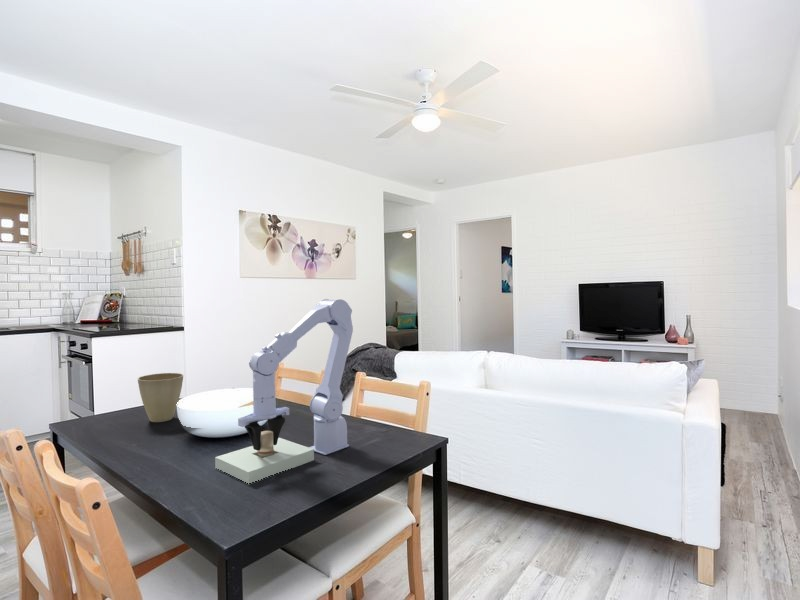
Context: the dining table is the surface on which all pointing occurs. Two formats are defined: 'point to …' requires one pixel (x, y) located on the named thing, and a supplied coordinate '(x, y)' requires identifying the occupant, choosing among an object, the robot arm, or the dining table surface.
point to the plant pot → (160, 395)
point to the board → (264, 461)
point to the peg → (266, 444)
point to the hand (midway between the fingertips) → (265, 446)
